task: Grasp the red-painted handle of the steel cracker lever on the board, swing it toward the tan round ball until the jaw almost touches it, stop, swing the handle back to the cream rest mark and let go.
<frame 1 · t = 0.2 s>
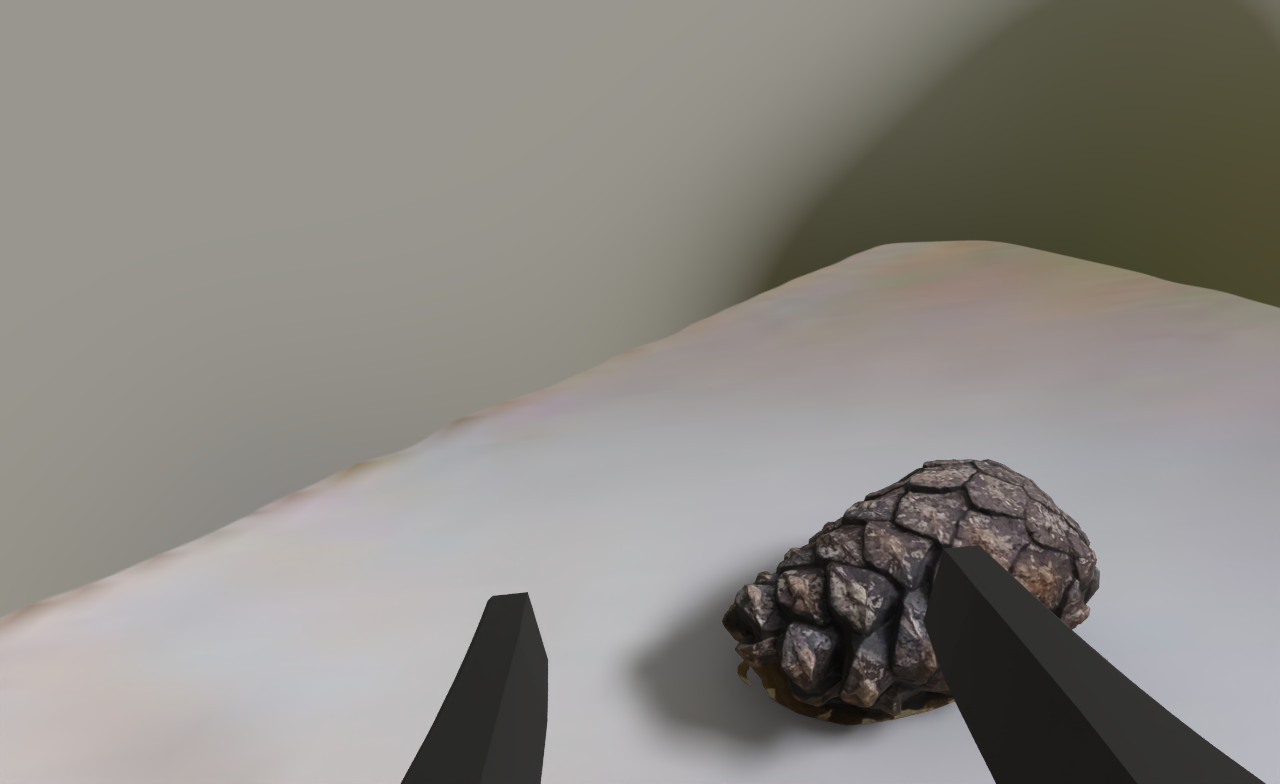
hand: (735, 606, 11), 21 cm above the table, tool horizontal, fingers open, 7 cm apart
pine cone: (895, 654, 34), on the table
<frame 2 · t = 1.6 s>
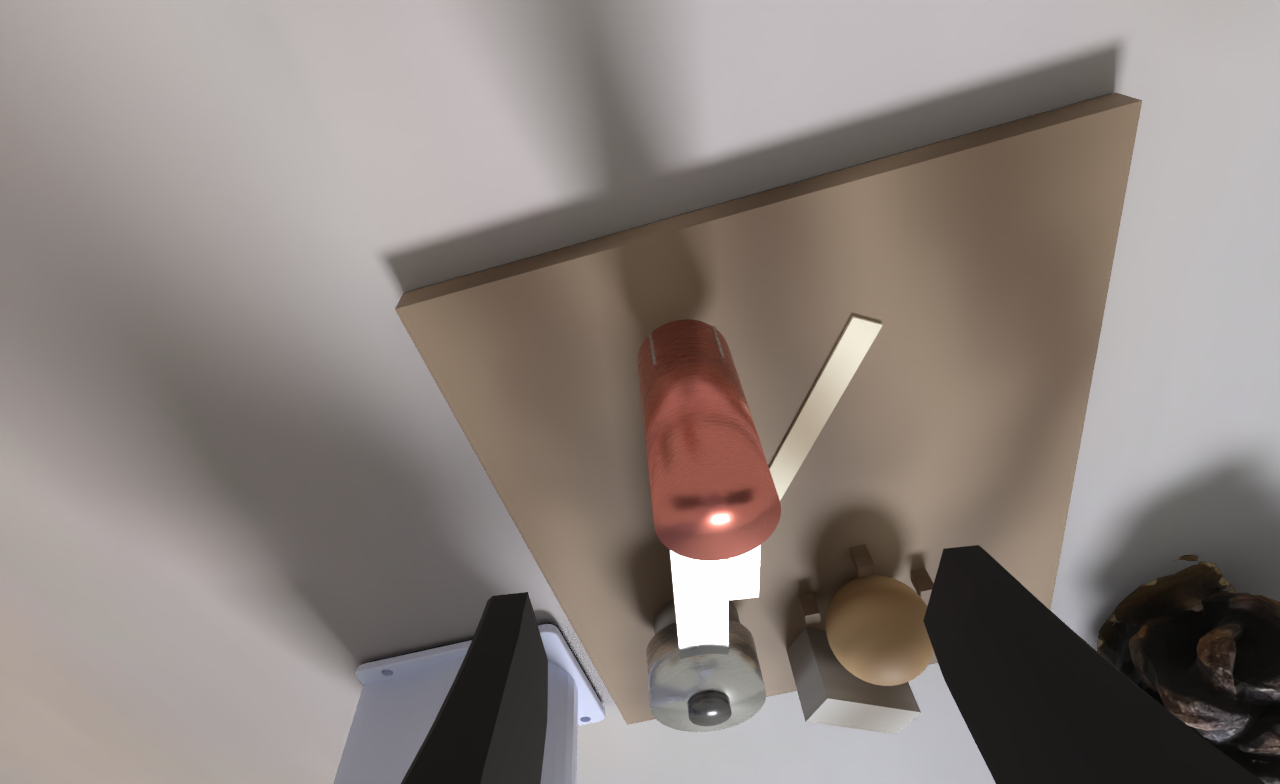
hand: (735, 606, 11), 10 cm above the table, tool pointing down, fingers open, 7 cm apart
pine cone: (1161, 650, 33), on the table
lever: (706, 614, 20), point 5 cm above the table, hinge at 80.0°
tan round ball: (861, 586, 26), point 1 cm above the table, touching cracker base
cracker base: (693, 601, 28), on the table
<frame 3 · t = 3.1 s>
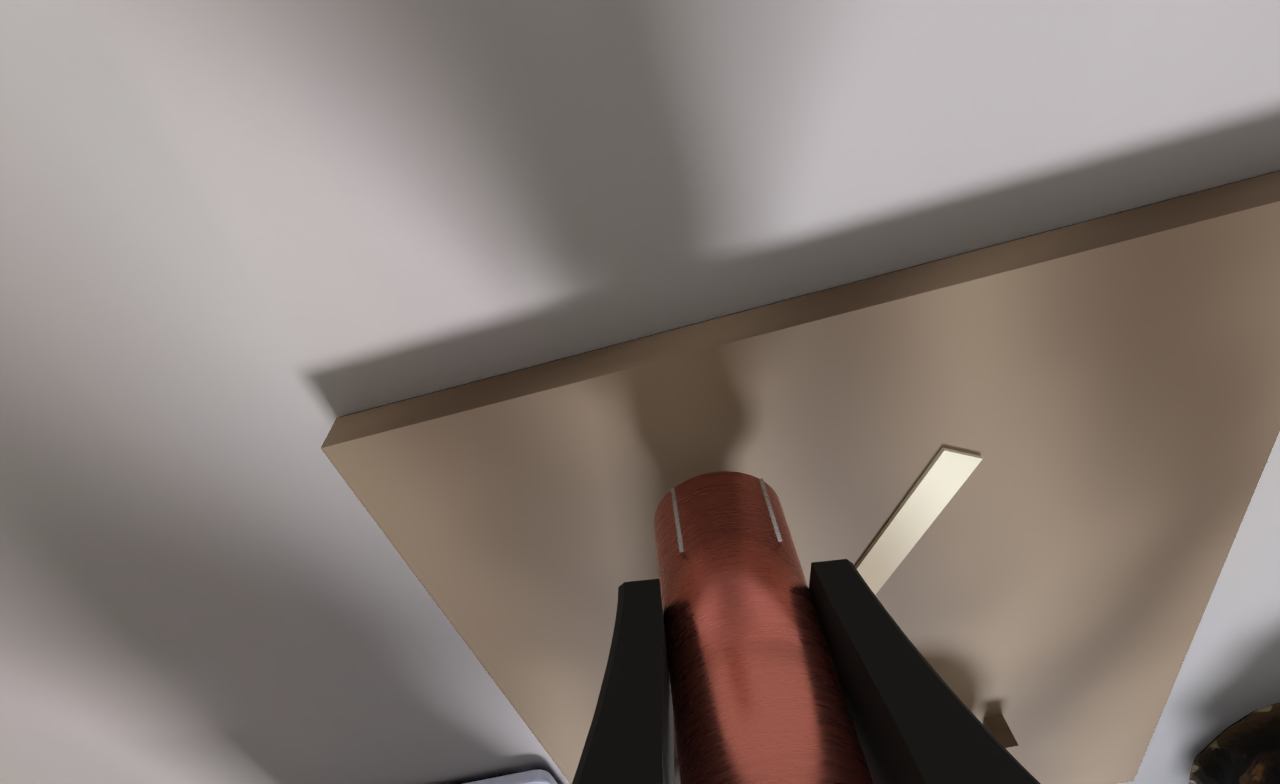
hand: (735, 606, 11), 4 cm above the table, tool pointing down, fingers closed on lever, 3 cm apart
pine cone: (1264, 770, 28), on the table
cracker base: (714, 742, 23), on the table
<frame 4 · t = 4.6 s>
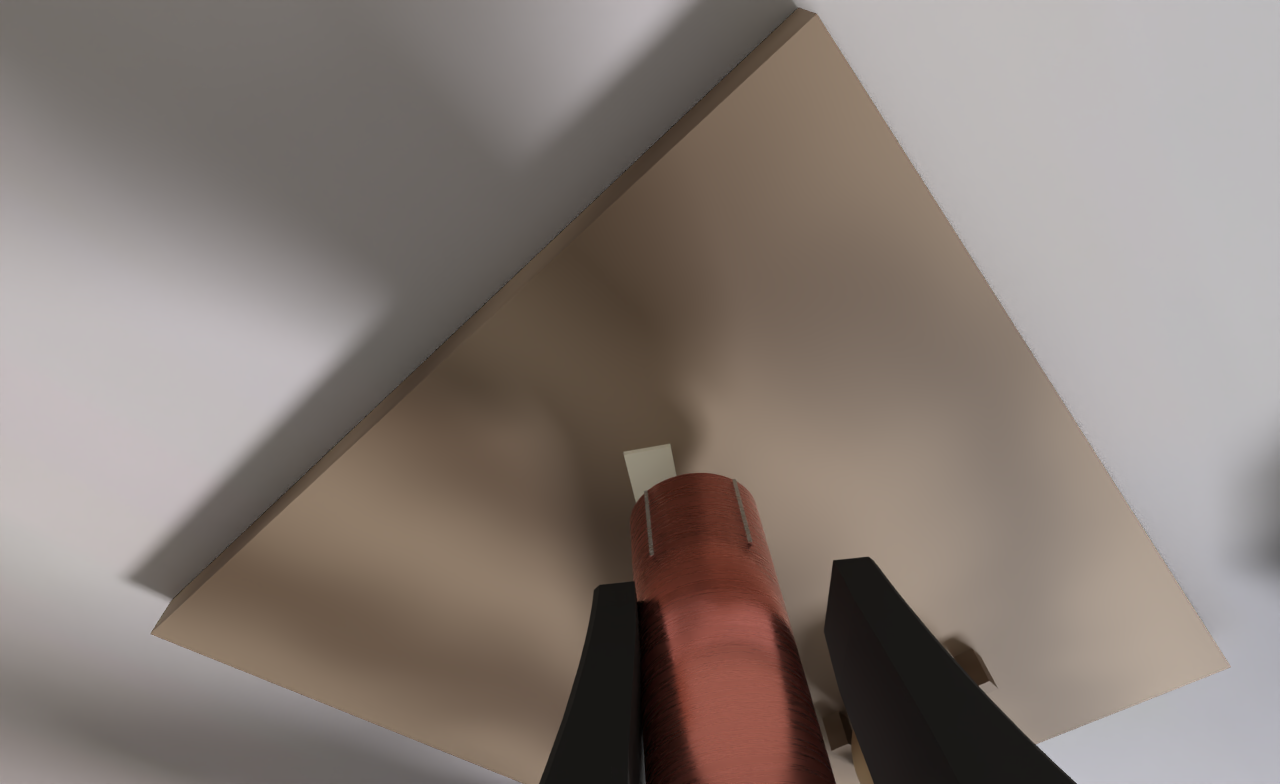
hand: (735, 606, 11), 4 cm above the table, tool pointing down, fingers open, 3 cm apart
tan round ball: (898, 688, 20), point 1 cm above the table, touching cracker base
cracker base: (715, 742, 23), on the table
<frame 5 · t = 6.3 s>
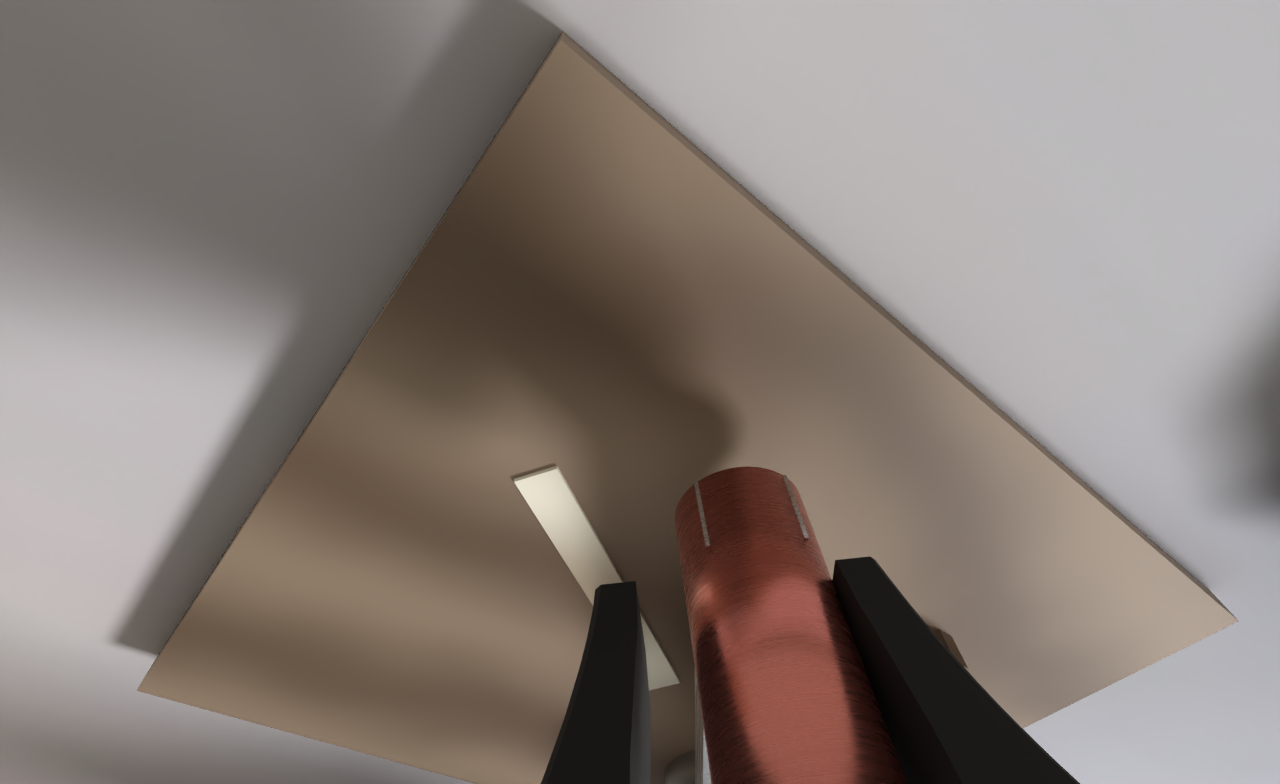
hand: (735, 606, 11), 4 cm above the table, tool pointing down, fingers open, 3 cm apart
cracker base: (711, 741, 23), on the table
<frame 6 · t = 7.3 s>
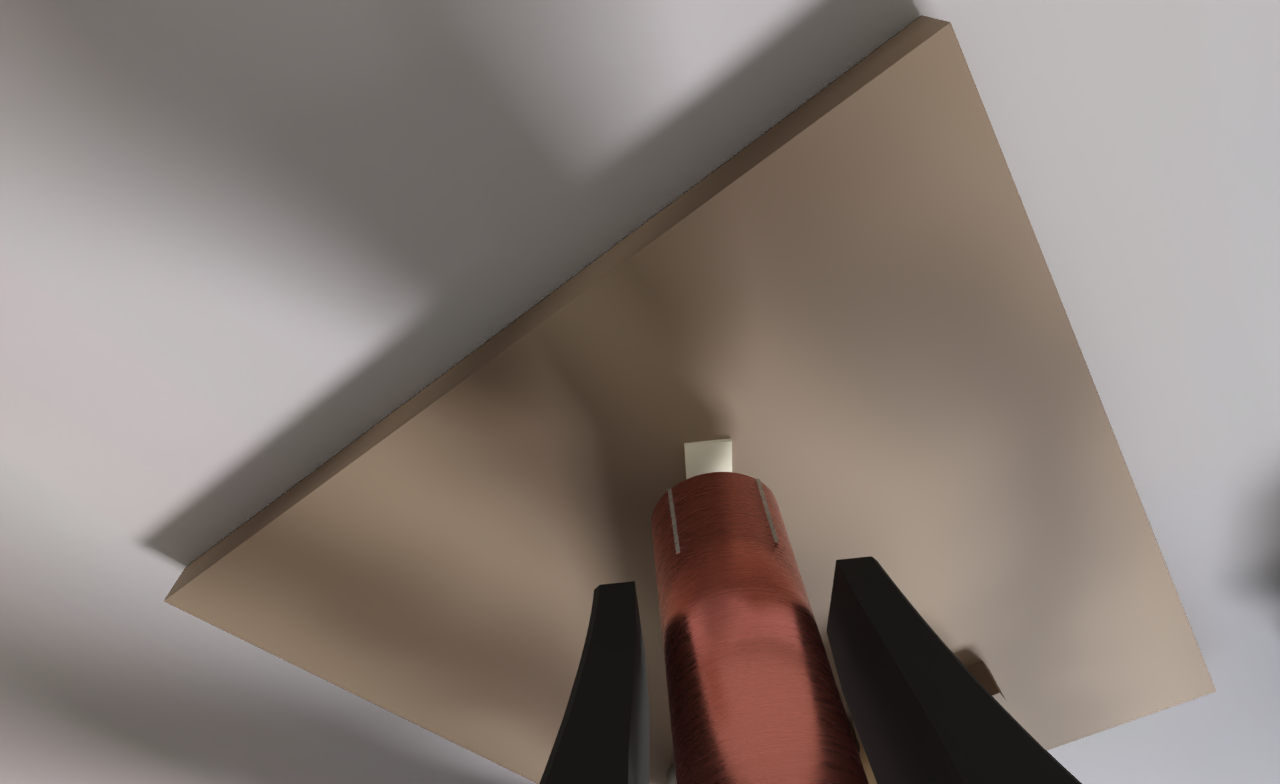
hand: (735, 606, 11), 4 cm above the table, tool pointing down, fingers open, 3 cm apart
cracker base: (714, 742, 23), on the table
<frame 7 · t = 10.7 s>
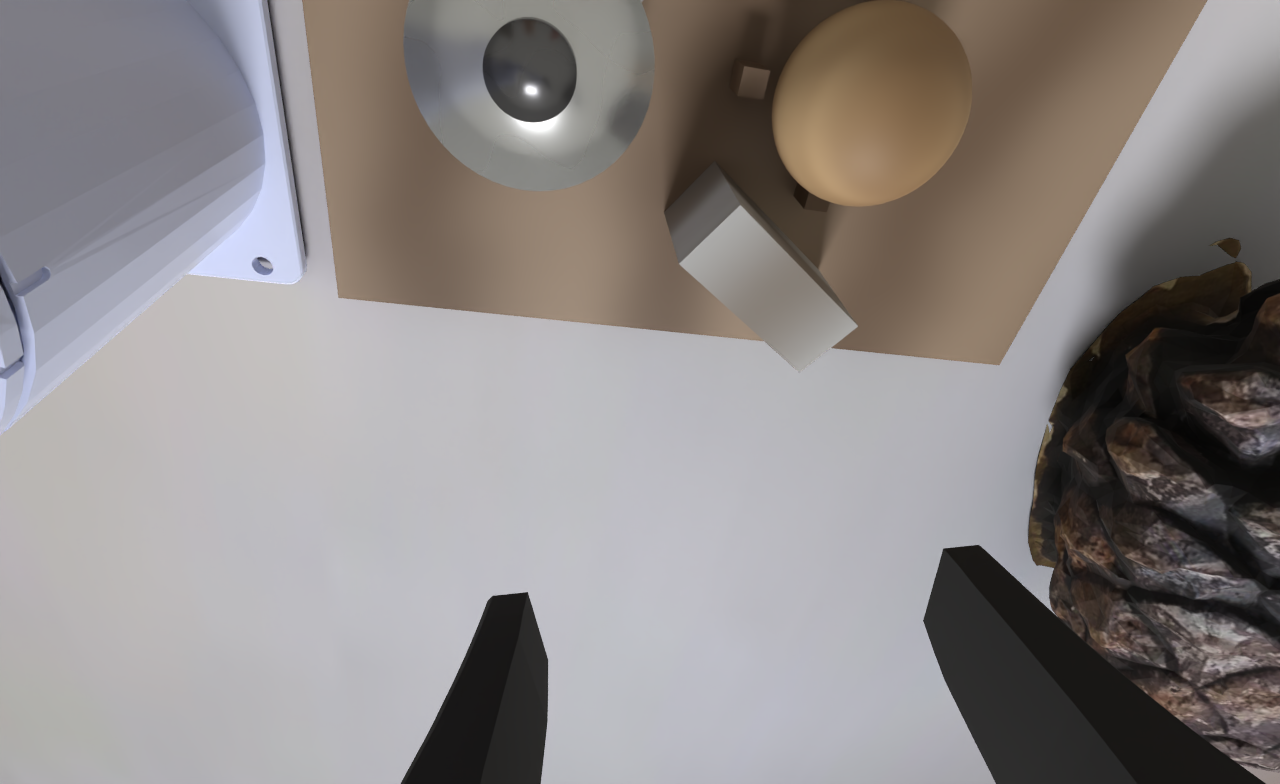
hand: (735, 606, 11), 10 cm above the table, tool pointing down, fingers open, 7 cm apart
pine cone: (1116, 441, 25), on the table
tan round ball: (836, 90, 15), point 1 cm above the table, touching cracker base
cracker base: (543, 35, 15), on the table
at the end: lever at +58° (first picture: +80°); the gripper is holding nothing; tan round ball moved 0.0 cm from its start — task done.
